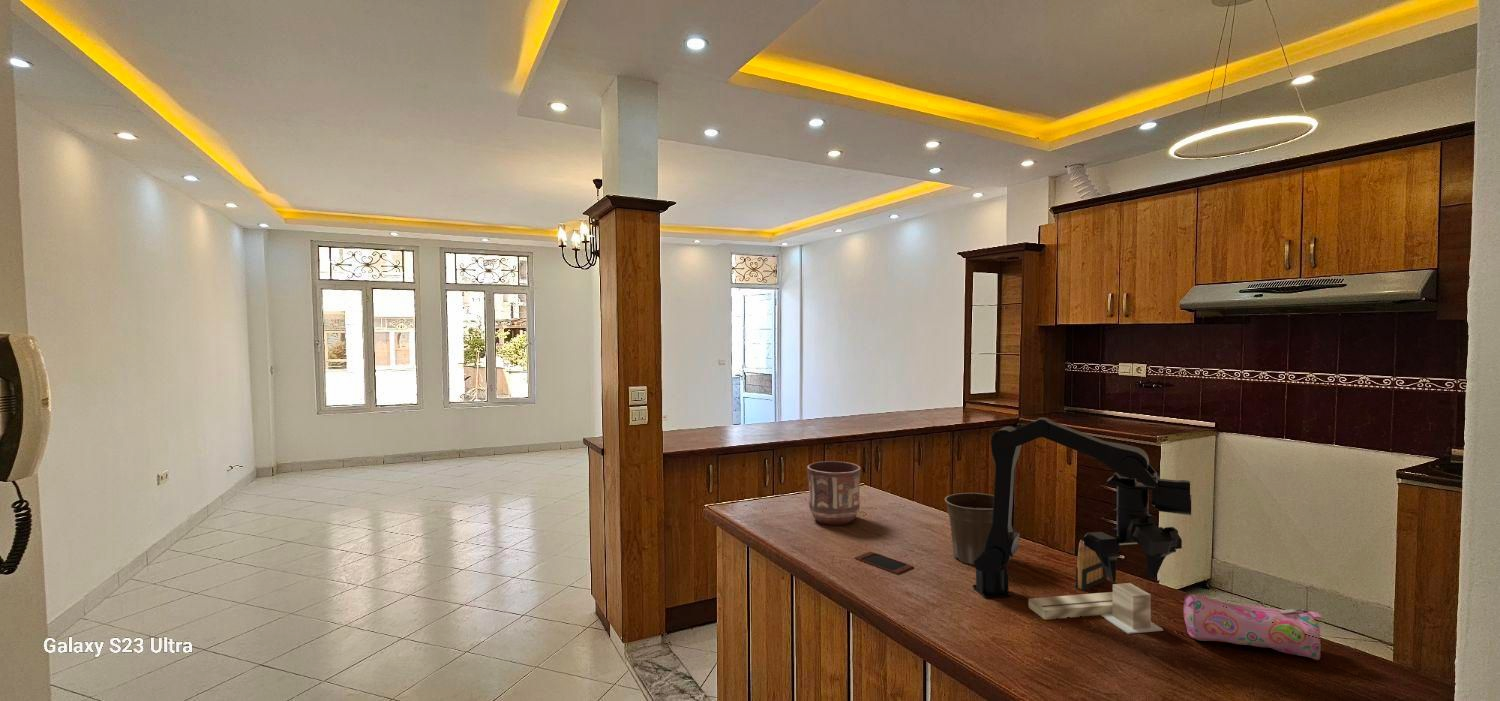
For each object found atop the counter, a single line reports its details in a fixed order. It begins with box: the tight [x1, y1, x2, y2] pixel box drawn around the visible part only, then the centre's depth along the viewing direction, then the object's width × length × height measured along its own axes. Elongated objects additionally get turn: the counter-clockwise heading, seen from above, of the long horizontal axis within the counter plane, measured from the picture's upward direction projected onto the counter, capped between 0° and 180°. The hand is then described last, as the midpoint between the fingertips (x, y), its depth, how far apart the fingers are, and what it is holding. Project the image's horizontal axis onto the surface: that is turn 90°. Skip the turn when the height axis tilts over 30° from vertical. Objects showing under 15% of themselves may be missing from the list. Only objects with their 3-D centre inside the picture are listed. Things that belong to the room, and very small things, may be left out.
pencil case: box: [1183, 594, 1324, 661], centre depth 123 cm, size 21×9×9 cm, turn 66°
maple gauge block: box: [1112, 582, 1152, 629], centre depth 133 cm, size 4×6×7 cm, turn 7°
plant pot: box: [944, 492, 994, 566], centre depth 171 cm, size 16×16×16 cm
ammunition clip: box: [1075, 539, 1108, 592], centre depth 153 cm, size 11×2×12 cm, turn 122°
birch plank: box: [1028, 591, 1113, 620], centre depth 140 cm, size 22×6×2 cm, turn 98°
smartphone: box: [854, 551, 915, 576], centre depth 169 cm, size 7×1×15 cm
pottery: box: [806, 460, 862, 526], centre depth 207 cm, size 18×18×18 cm
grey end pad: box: [1100, 614, 1164, 635], centre depth 133 cm, size 8×8×1 cm
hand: (1132, 580), depth 132 cm, fingers open, 9 cm apart
